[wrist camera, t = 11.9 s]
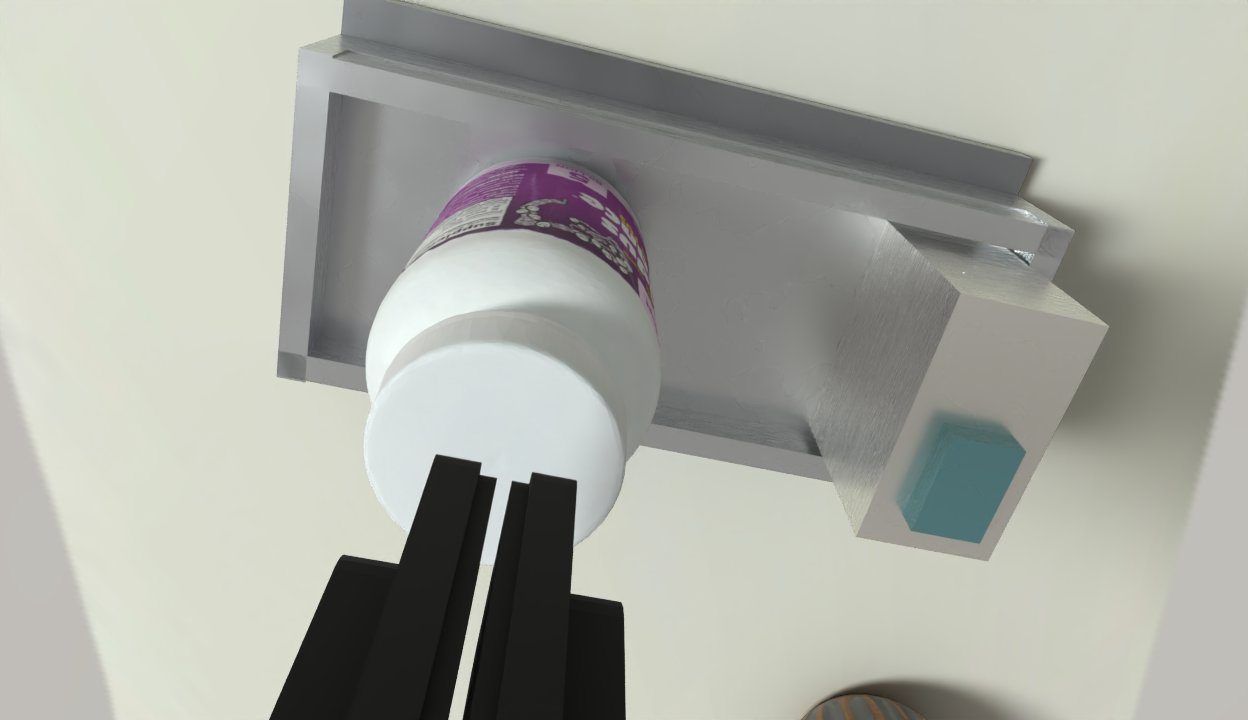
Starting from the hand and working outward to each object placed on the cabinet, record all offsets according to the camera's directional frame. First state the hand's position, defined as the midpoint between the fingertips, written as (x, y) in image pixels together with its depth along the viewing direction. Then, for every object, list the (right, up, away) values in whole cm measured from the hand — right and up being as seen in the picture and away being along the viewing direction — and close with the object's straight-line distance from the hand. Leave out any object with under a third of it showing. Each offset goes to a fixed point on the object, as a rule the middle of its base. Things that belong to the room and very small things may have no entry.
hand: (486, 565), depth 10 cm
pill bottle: (0, +5, +12) cm, 13 cm away
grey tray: (+3, +5, +14) cm, 16 cm away
